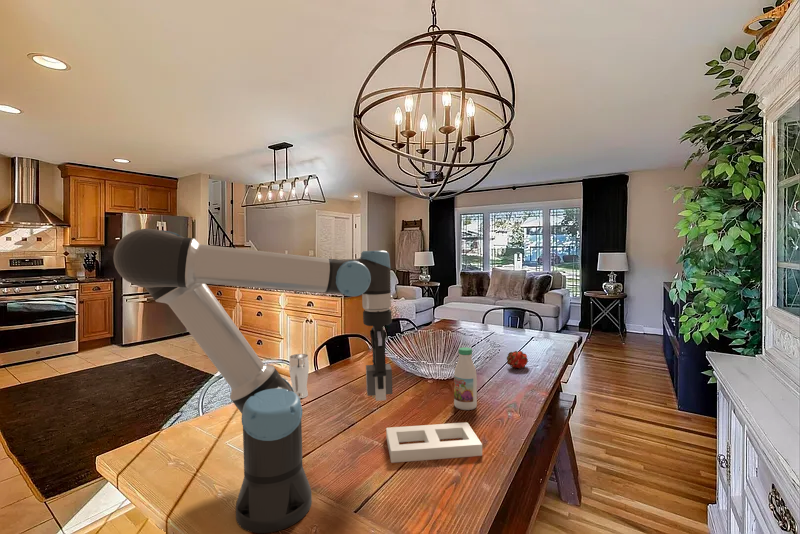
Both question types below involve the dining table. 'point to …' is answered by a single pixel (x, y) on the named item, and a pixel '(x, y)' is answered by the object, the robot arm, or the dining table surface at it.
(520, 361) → the dragon fruit
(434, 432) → the socket plate
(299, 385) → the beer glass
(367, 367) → the plug
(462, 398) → the milk bottle
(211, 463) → the dining table surface
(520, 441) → the dining table surface
